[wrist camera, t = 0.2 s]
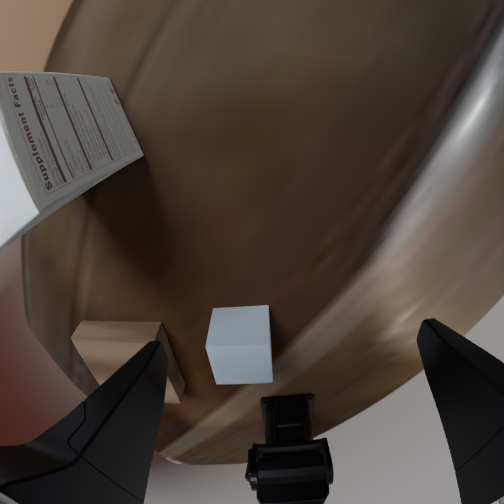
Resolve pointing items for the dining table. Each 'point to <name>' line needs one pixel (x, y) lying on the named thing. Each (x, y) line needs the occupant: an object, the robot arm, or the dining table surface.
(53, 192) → the supplement box
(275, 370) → the dining table surface
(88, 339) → the tan flat block
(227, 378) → the slate block
